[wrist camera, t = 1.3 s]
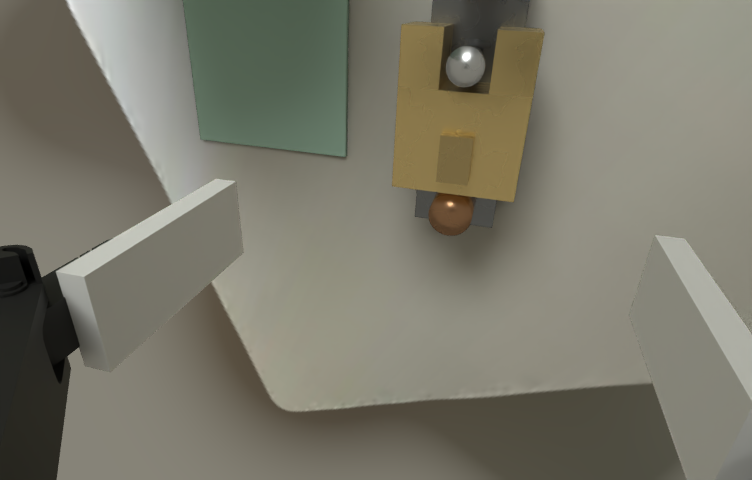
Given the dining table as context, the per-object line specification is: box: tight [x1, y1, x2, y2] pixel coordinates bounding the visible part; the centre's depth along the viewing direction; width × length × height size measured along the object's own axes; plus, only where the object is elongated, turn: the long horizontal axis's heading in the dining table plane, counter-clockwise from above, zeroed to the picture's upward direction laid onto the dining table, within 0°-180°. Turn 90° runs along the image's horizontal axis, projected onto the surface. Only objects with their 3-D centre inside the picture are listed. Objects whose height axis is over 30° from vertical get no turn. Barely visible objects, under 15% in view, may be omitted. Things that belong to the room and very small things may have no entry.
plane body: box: [415, 0, 530, 236], centre depth 33 cm, size 18×6×9 cm, turn 178°
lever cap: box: [392, 22, 544, 202], centre depth 31 cm, size 10×8×5 cm
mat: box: [183, 0, 349, 157], centre depth 40 cm, size 14×14×1 cm
